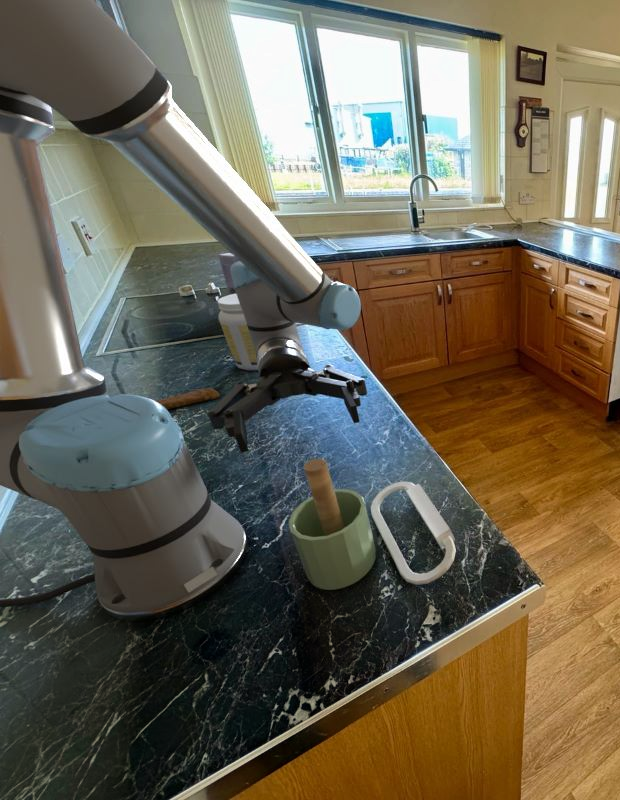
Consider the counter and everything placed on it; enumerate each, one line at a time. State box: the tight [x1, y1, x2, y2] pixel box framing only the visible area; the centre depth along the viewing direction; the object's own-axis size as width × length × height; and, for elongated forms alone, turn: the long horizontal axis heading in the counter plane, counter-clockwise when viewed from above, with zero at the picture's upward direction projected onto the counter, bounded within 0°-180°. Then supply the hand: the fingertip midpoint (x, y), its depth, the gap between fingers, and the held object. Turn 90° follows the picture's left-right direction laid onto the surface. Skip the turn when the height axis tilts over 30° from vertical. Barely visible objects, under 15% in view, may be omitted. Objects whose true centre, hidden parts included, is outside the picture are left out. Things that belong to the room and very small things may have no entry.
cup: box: [288, 488, 377, 591], centre depth 55 cm, size 9×9×9 cm
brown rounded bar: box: [155, 387, 221, 411], centre depth 88 cm, size 19×6×4 cm, turn 143°
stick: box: [303, 457, 344, 536], centre depth 53 cm, size 2×2×16 cm
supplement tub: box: [217, 294, 258, 371], centre depth 106 cm, size 12×12×17 cm
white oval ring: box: [370, 481, 457, 586], centre depth 61 cm, size 20×8×4 cm, turn 35°
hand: (301, 428), depth 56 cm, fingers open, 13 cm apart
